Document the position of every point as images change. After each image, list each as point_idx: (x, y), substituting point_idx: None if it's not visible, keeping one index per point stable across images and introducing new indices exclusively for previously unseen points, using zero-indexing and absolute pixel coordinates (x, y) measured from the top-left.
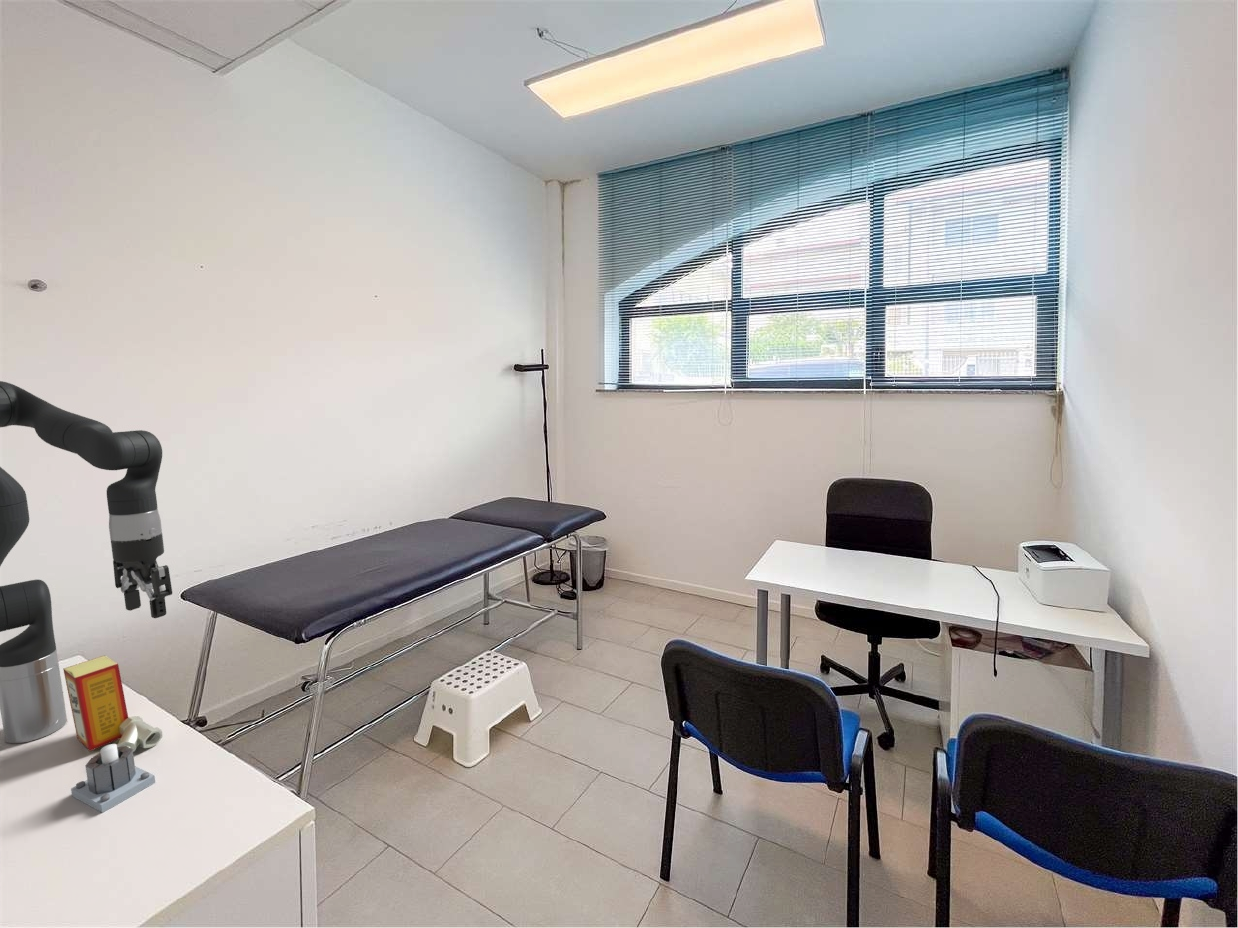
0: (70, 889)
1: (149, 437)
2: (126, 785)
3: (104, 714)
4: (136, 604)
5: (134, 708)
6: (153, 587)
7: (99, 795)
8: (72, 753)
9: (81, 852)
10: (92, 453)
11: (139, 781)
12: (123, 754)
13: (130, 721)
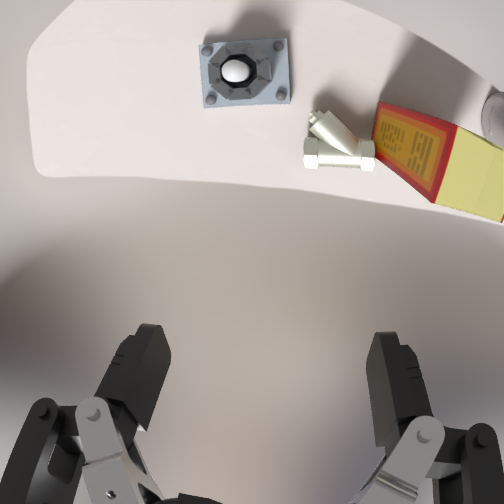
0: (101, 5)
1: None
2: None
3: (395, 135)
4: (371, 370)
5: None
6: (33, 457)
7: None
8: (407, 95)
9: (146, 16)
10: None
11: (208, 91)
12: (224, 85)
13: (362, 154)
